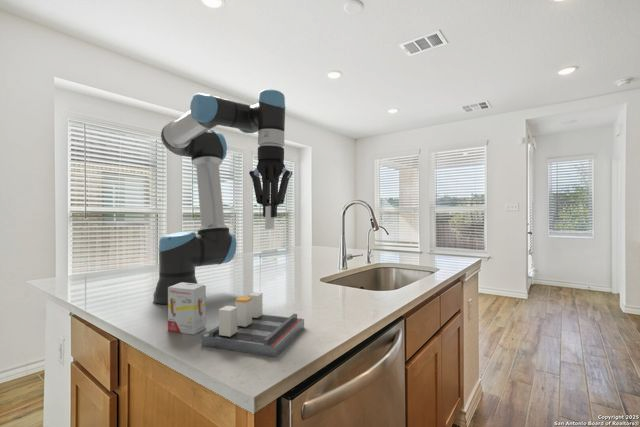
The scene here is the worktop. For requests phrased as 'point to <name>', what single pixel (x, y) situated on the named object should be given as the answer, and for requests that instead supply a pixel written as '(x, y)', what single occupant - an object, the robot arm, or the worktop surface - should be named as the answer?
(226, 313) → the block
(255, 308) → the block
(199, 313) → the ink box
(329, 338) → the worktop surface
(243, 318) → the block
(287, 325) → the panel
